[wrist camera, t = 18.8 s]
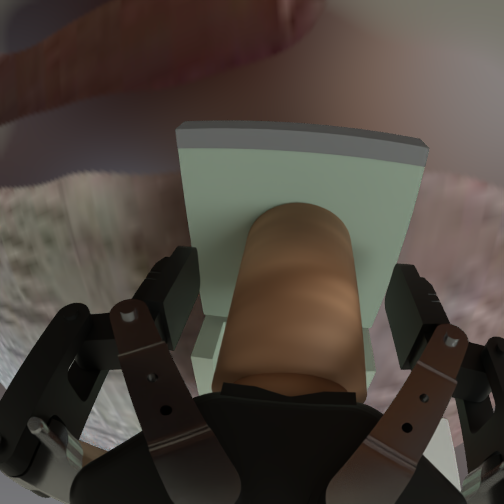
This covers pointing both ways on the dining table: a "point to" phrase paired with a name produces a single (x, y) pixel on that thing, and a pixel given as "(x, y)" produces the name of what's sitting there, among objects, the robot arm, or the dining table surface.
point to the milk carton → (443, 453)
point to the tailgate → (296, 194)
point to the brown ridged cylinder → (295, 308)
